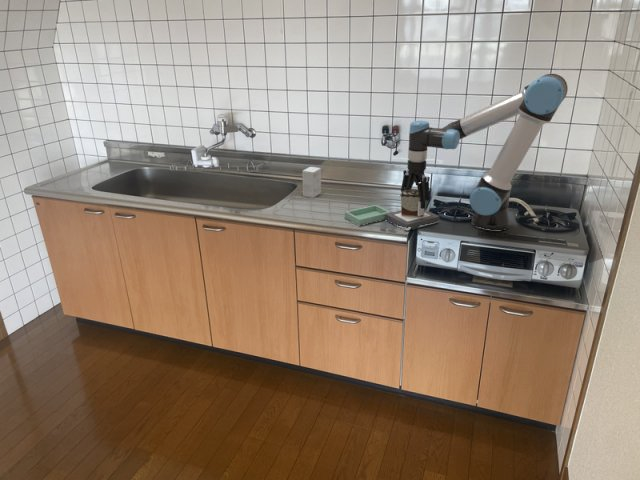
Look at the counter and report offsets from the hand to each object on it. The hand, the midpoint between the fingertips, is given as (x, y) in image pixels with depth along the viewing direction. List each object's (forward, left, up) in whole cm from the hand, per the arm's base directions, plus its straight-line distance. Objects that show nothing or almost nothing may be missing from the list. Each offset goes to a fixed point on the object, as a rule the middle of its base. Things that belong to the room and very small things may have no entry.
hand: (413, 212), depth 211 cm
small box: (+53, +19, -5) cm, 57 cm away
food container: (+2, -1, -1) cm, 2 cm away
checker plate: (0, 0, -2) cm, 2 cm away
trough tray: (+13, +14, -5) cm, 20 cm away
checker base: (0, 0, -5) cm, 5 cm away
